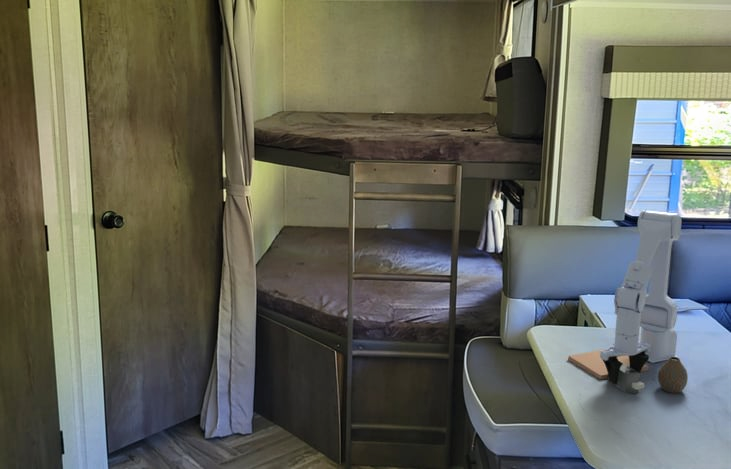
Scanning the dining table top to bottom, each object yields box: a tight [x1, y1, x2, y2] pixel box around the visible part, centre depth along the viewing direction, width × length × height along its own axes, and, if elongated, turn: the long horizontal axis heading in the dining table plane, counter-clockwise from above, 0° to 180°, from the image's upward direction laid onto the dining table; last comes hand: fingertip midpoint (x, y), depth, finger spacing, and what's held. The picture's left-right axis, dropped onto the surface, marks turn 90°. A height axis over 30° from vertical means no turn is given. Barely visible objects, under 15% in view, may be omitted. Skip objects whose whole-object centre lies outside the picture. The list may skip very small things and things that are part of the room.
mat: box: [568, 348, 649, 380], centre depth 185 cm, size 16×14×1 cm
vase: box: [657, 356, 688, 394], centre depth 169 cm, size 7×7×9 cm
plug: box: [607, 364, 645, 395], centre depth 171 cm, size 4×11×5 cm, turn 20°
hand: (623, 380), depth 172 cm, fingers open, 6 cm apart
